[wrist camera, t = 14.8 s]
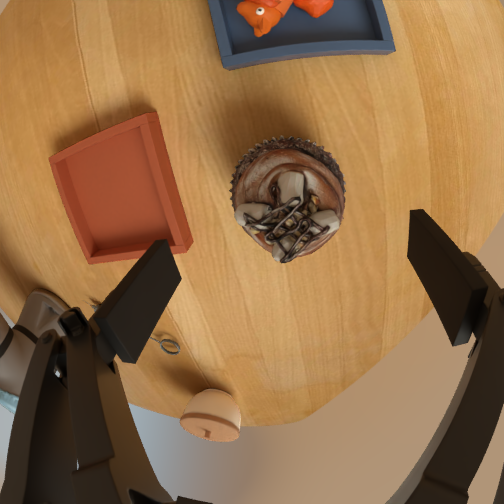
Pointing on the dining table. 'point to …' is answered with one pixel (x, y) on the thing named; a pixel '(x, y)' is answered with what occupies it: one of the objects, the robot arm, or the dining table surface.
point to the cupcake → (288, 196)
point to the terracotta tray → (121, 192)
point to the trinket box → (212, 416)
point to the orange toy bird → (277, 11)
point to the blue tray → (302, 33)
